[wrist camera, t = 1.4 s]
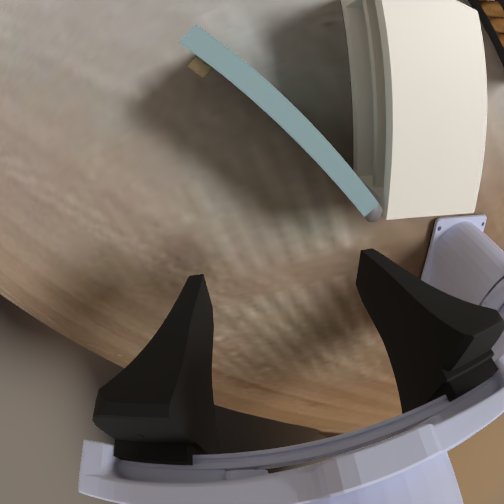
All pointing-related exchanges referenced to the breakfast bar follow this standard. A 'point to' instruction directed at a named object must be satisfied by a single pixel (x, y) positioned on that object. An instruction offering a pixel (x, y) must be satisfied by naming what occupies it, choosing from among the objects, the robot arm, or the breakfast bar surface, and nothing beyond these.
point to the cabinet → (417, 104)
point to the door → (279, 114)
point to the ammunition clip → (492, 21)
